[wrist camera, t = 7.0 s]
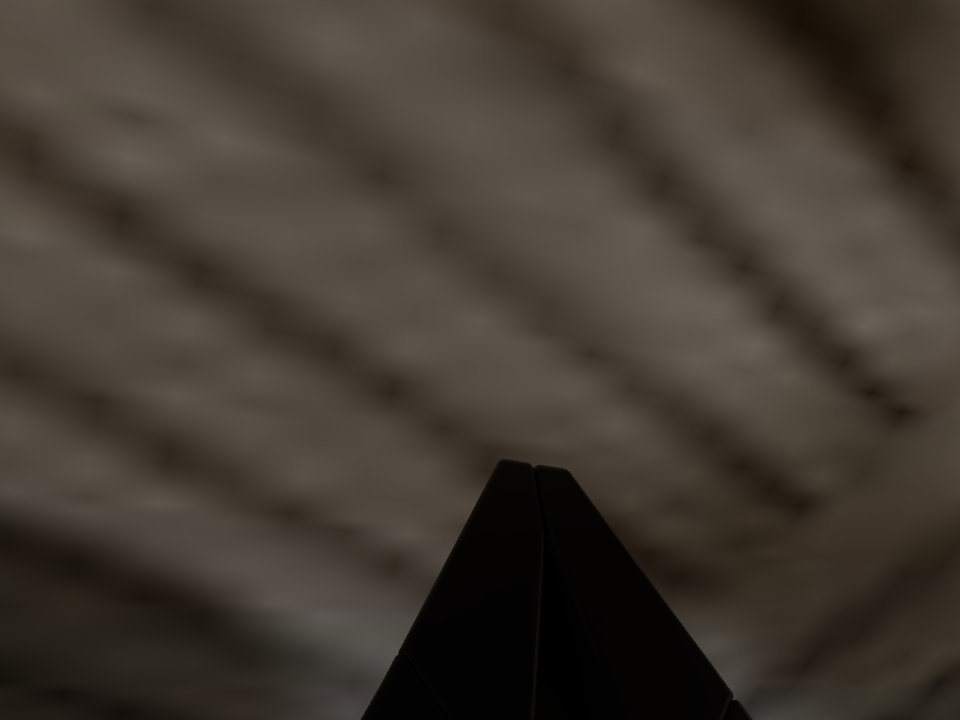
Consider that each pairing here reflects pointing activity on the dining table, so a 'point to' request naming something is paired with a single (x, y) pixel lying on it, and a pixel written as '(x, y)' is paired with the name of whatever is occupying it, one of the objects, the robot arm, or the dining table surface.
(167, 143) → the dining table surface
